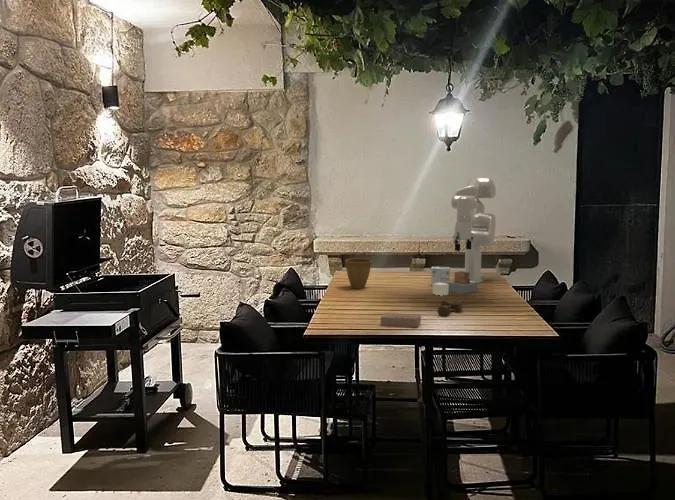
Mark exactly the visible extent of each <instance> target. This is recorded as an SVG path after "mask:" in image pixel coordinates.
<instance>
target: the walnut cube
mask: <svg viewBox="0 0 675 500" xmlns="http://www.w3.org/2000/svg"><path fill="white" fill-rule="evenodd" d="M454 283H458V284H467V283H470V272H465V270H464V271H462V270H460V271H455V272H454Z"/></svg>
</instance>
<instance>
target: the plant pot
mask: <svg viewBox="0 0 675 500" xmlns="http://www.w3.org/2000/svg"><path fill="white" fill-rule="evenodd" d="M372 261H373V260H371V259H367V258H347V259H345V269H346V275H347V278H348V281H349V284H350V287H351V288H352V289H354V290H363V289H365V288H366V285H367V282H368V279H369V277H370V272H371V266H372Z"/></svg>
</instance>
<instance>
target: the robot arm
mask: <svg viewBox="0 0 675 500" xmlns="http://www.w3.org/2000/svg"><path fill="white" fill-rule="evenodd" d="M496 189H497V188H496V185H495V183H494V181H493V179H492V178H491V177H486V176H484V177H481V176H480V177H479V176H478V177H477V176H475V177H472V178H470V179H469V180H468V182H467V184H466V186H465V187H463V188H459V189H458V190H456V191H455V192H454V193H453V195H452V197H451V202H450V204H451V207H452V208H453V209H456V222H455V224H454V234H453V235H452V239H453V240H452V241H453V243H454V251H456V252H460V251H461V241H464V248H465V249H464V252H465V253H464V254H465V255H464V272H470V282H472V283H477V284H479V283H480V284H481V283H483V282H484V279H482V278H485V276H486V275H485V273H482V250H481V249H480V248H479V246H481V247H482V246H483V247H484V246H485V247H489V246H492V245H494V242H495V235H496V234H495V233H496V225H497V219H496V216H495V215H494V214H493V213H485V205H484V204H483V202H482V201H481V200H480V199H493V198H494V197H495V196H496V194H497V190H496Z"/></svg>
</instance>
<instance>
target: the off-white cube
mask: <svg viewBox="0 0 675 500" xmlns="http://www.w3.org/2000/svg"><path fill="white" fill-rule="evenodd" d="M449 292H450V291H449V284H446V283H434V284H433V286H432V295H433V294H435V295H434V296H438V295H440V296H439V297H444V296H448V295H449ZM443 295H444V296H443Z"/></svg>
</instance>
